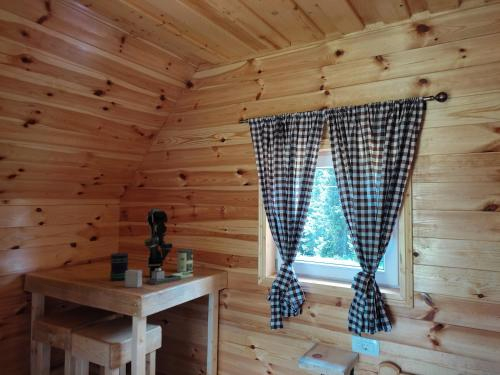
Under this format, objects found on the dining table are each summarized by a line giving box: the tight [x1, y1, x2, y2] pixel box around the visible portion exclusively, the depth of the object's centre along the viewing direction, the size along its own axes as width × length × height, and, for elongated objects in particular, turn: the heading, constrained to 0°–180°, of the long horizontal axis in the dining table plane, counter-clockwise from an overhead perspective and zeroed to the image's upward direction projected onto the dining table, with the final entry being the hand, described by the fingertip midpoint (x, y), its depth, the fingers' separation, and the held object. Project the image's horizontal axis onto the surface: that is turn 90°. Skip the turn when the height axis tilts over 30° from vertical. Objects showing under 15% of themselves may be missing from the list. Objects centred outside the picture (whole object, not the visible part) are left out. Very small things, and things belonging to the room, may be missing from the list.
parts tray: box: [171, 272, 194, 280], centre depth 225 cm, size 9×9×2 cm
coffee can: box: [176, 248, 194, 273], centre depth 242 cm, size 10×10×14 cm
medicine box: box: [124, 269, 143, 288], centre depth 200 cm, size 8×4×9 cm, turn 75°
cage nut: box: [152, 267, 165, 281], centre depth 209 cm, size 5×5×8 cm
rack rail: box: [145, 273, 182, 286], centre depth 212 cm, size 9×18×2 cm, turn 139°
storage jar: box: [110, 252, 129, 282], centre depth 216 cm, size 10×10×15 cm
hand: (158, 259), depth 210 cm, fingers open, 9 cm apart
